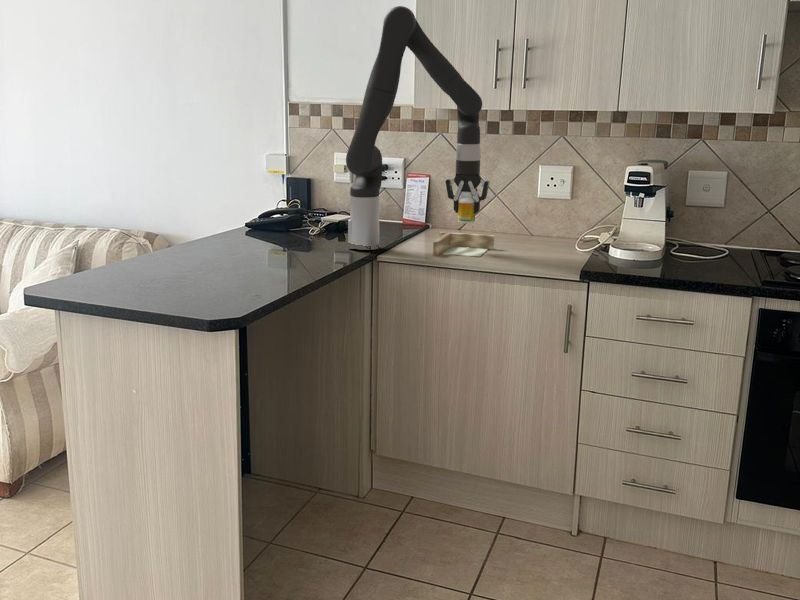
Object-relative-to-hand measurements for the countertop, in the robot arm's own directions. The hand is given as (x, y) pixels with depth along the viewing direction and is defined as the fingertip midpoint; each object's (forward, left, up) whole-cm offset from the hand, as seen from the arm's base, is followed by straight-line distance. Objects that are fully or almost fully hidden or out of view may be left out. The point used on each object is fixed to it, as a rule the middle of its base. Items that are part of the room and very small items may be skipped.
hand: (466, 212), depth 250 cm
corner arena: (-2, 0, -13) cm, 13 cm away
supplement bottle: (0, 0, -3) cm, 3 cm away
